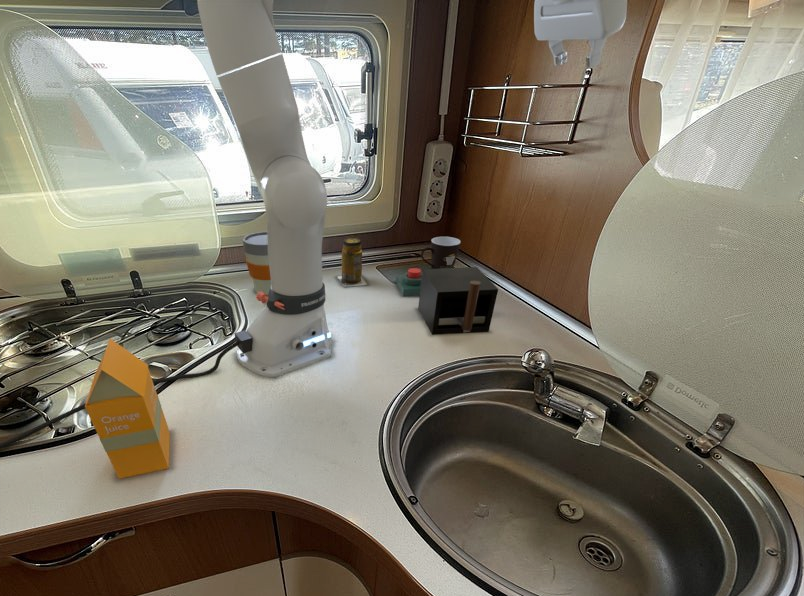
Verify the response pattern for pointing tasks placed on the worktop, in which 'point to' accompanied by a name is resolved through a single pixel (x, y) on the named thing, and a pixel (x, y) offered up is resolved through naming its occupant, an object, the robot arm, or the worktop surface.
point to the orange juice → (128, 414)
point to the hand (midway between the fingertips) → (576, 65)
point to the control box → (408, 285)
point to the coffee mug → (443, 252)
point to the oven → (454, 296)
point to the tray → (463, 310)
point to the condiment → (351, 263)
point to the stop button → (414, 273)
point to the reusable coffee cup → (258, 260)
